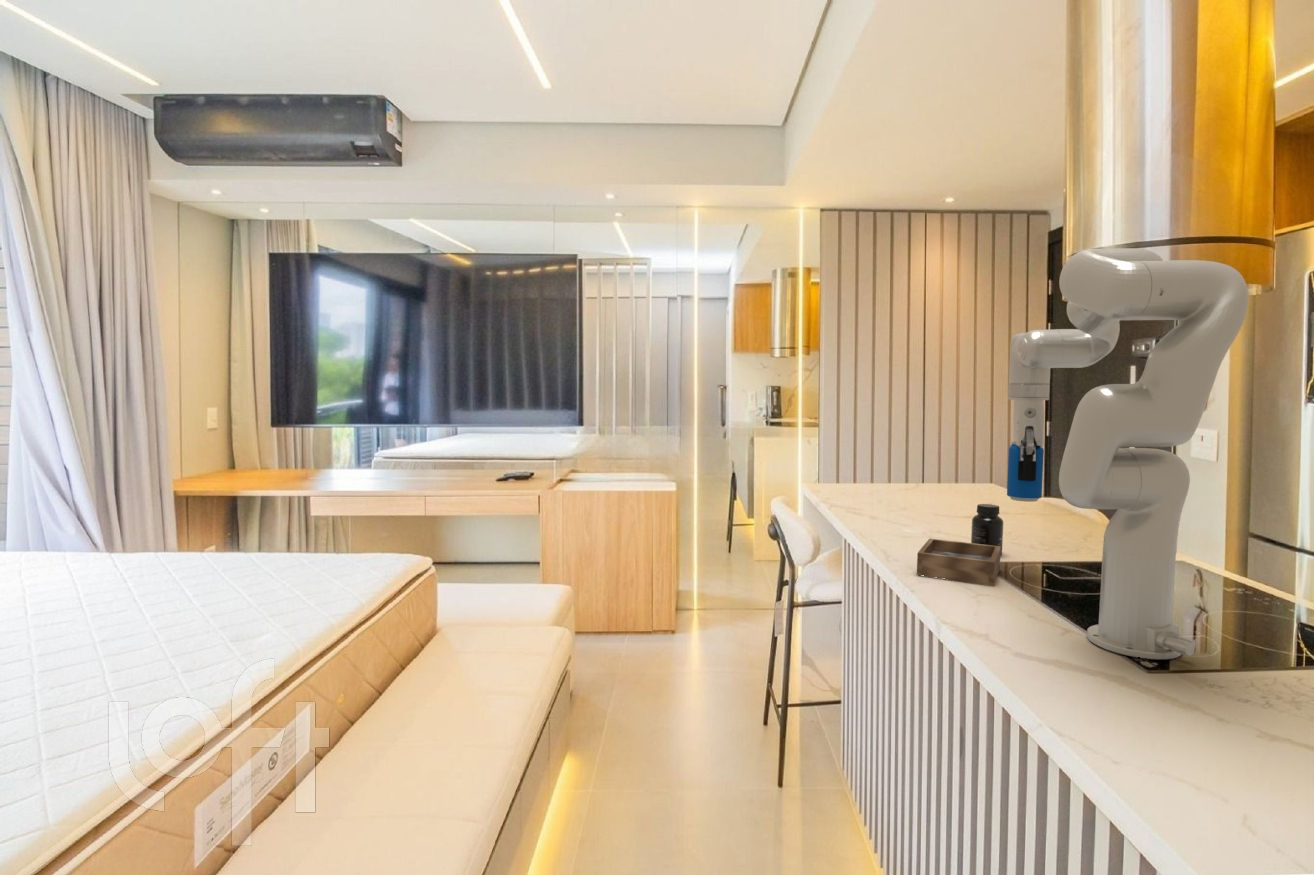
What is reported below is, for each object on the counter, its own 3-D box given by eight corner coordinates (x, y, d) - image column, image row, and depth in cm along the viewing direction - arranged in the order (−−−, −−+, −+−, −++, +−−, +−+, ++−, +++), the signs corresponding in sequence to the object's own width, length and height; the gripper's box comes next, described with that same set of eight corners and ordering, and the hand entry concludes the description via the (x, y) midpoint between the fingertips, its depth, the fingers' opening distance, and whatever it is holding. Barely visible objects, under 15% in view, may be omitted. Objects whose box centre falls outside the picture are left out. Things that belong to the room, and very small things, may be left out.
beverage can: (1047, 502, 143) (1050, 444, 142) (1015, 502, 143) (1017, 444, 142) (1032, 496, 149) (1034, 441, 148) (1001, 496, 149) (1003, 441, 148)
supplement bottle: (1007, 558, 163) (1009, 508, 162) (978, 558, 163) (980, 508, 162) (993, 551, 170) (995, 502, 169) (965, 551, 170) (967, 502, 169)
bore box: (999, 568, 155) (1000, 546, 154) (993, 586, 142) (994, 562, 141) (928, 559, 162) (929, 538, 162) (916, 575, 149) (917, 552, 149)
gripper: (1055, 394, 135) (1050, 485, 136) (1043, 391, 150) (1040, 473, 152) (1011, 393, 137) (1007, 483, 139) (1005, 391, 153) (1002, 471, 155)
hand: (1024, 477), depth 146 cm, fingers closed on beverage can, 6 cm apart
